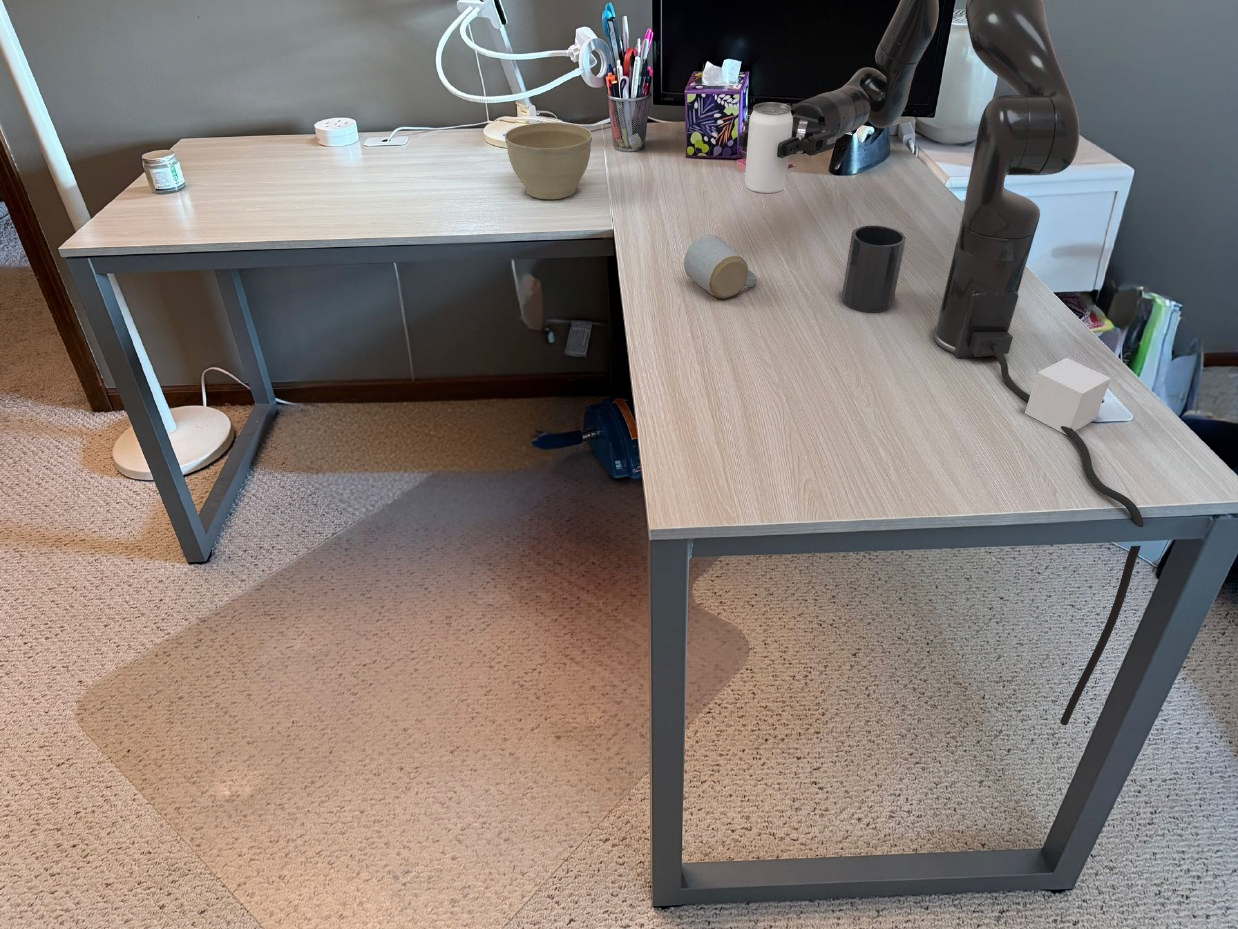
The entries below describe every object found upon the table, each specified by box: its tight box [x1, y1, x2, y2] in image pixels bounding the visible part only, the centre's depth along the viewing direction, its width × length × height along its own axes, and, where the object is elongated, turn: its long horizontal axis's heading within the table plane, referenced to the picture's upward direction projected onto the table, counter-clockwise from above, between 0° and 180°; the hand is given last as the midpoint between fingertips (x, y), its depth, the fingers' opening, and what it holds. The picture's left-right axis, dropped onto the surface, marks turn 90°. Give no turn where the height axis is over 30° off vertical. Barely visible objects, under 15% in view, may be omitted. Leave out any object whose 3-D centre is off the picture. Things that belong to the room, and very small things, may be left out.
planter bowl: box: [504, 121, 593, 200], centre depth 172 cm, size 16×16×11 cm
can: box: [744, 101, 793, 195], centre depth 138 cm, size 6×6×12 cm
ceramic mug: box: [683, 234, 758, 299], centre depth 140 cm, size 11×8×8 cm
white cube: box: [1024, 357, 1112, 436], centre depth 112 cm, size 6×6×6 cm
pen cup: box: [841, 225, 907, 314], centre depth 135 cm, size 8×8×10 cm
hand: (760, 145), depth 136 cm, fingers closed on can, 6 cm apart
